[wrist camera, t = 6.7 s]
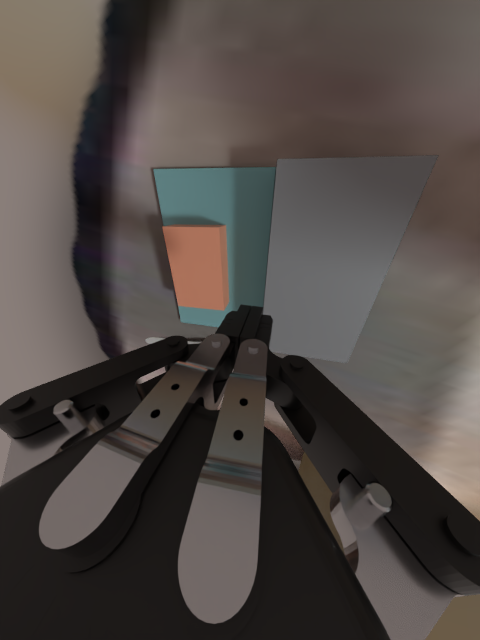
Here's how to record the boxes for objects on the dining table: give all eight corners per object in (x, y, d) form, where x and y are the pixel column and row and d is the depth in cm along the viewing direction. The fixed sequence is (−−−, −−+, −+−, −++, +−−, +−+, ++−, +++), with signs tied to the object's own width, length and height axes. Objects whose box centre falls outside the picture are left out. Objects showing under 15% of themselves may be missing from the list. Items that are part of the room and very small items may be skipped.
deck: (405, 166, 15) (438, 155, 12) (339, 341, 25) (347, 363, 21) (279, 167, 17) (277, 159, 13) (263, 331, 26) (259, 349, 23)
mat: (276, 167, 17) (275, 166, 16) (261, 331, 26) (260, 333, 26) (156, 169, 19) (153, 169, 19) (182, 320, 28) (181, 322, 28)
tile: (162, 226, 19) (174, 224, 21) (178, 305, 24) (186, 298, 26) (219, 227, 18) (226, 225, 20) (224, 310, 22) (229, 301, 24)
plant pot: (340, 480, 43) (363, 602, 30) (277, 458, 44) (273, 567, 31) (379, 453, 35) (434, 605, 22) (301, 427, 36) (308, 557, 23)
